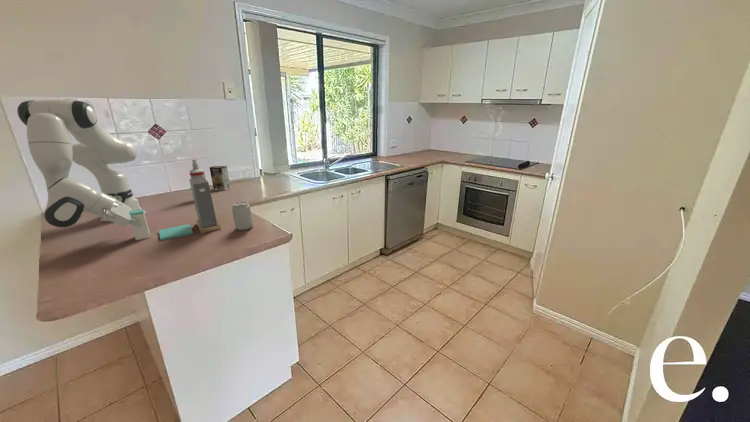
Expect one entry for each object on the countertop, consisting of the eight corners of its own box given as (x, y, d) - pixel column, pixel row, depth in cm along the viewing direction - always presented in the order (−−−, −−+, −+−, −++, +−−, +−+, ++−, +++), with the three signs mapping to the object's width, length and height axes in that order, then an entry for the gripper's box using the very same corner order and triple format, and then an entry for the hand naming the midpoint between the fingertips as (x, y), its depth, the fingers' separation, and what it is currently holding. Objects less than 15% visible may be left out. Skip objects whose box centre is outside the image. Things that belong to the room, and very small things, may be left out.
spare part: (136, 236, 132) (128, 211, 128) (150, 233, 135) (142, 208, 131) (135, 240, 128) (128, 214, 124) (150, 237, 131) (142, 211, 127)
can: (236, 232, 134) (231, 206, 130) (235, 227, 140) (230, 202, 136) (254, 229, 137) (250, 204, 133) (252, 224, 143) (248, 199, 139)
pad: (159, 232, 136) (158, 230, 136) (189, 226, 143) (189, 224, 142) (160, 240, 127) (160, 238, 127) (193, 233, 134) (192, 231, 133)
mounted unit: (196, 223, 145) (186, 179, 138) (214, 220, 150) (205, 176, 143) (201, 233, 134) (190, 185, 127) (220, 228, 138) (211, 182, 131)
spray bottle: (192, 200, 184) (183, 160, 177) (203, 197, 191) (195, 158, 183) (202, 201, 182) (192, 160, 174) (212, 198, 188) (204, 158, 180)
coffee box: (213, 190, 208) (208, 167, 203) (219, 188, 214) (215, 165, 209) (225, 190, 207) (220, 167, 202) (231, 188, 213) (226, 165, 208)
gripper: (107, 205, 114) (146, 223, 122) (111, 194, 129) (145, 211, 138) (95, 219, 112) (135, 236, 121) (101, 206, 128) (136, 222, 137)
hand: (140, 223), depth 130 cm, fingers closed on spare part, 5 cm apart
